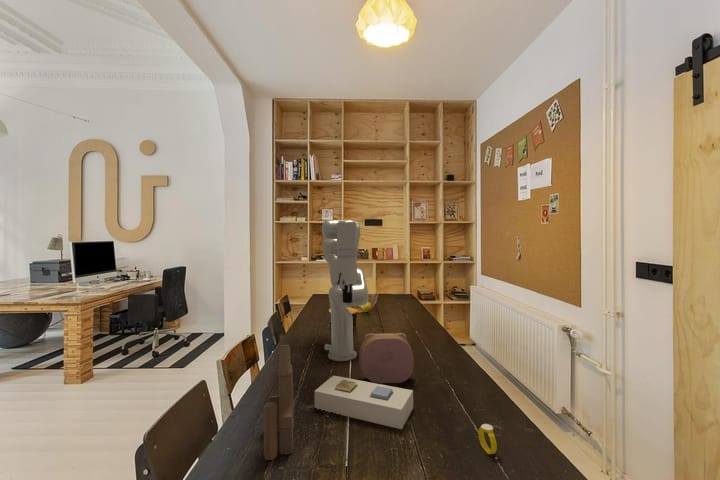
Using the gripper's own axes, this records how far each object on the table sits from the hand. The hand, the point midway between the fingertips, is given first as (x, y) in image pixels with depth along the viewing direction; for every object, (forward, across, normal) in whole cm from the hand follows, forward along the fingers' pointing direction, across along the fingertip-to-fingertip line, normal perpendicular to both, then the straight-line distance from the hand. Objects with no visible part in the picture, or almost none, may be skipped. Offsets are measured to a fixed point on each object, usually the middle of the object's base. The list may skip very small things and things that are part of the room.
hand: (347, 302), depth 123 cm
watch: (+27, +24, +50) cm, 62 cm away
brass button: (+24, +18, +8) cm, 31 cm away
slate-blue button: (+24, +18, +20) cm, 36 cm away
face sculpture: (+29, -3, +14) cm, 32 cm away
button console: (+28, +18, +14) cm, 36 cm away
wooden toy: (+28, +41, +1) cm, 50 cm away
